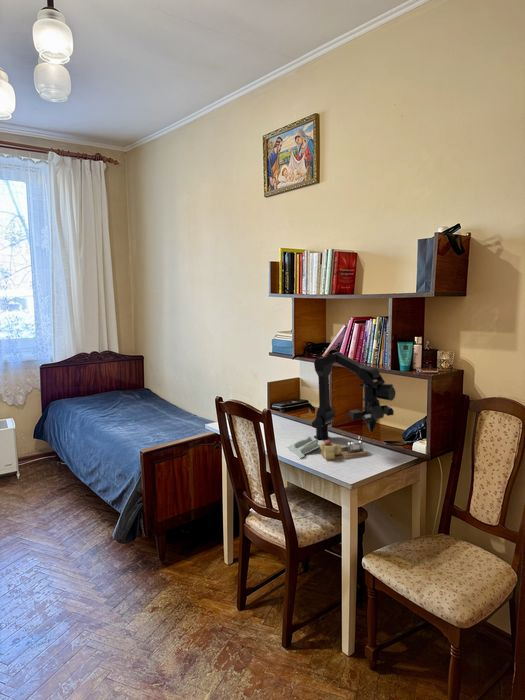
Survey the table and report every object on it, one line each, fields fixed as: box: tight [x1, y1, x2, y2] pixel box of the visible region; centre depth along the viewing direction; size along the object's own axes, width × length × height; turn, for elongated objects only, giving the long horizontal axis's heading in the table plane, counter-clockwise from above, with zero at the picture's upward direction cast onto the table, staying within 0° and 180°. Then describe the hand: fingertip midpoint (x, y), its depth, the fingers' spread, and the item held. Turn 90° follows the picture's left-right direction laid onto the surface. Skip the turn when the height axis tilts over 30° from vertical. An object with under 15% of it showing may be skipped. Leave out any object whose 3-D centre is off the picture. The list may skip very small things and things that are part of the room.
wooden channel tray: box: [319, 439, 368, 463], centre depth 204 cm, size 10×18×7 cm, turn 103°
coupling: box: [345, 439, 365, 454], centre depth 206 cm, size 5×6×5 cm
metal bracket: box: [286, 436, 321, 459], centre depth 212 cm, size 14×6×15 cm
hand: (371, 431), depth 206 cm, fingers closed
